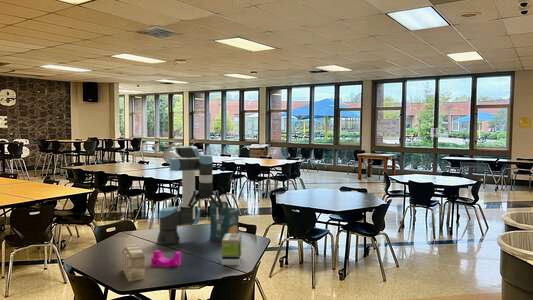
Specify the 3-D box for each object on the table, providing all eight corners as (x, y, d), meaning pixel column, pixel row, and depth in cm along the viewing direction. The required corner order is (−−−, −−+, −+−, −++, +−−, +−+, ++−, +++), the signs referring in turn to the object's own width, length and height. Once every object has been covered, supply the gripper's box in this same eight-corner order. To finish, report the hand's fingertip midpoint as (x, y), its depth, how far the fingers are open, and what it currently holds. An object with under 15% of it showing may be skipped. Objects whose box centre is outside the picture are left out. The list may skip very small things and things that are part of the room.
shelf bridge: (122, 270, 217) (122, 245, 216) (138, 267, 221) (137, 243, 220) (128, 281, 200) (128, 255, 200) (144, 279, 204) (144, 252, 204)
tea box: (225, 257, 241) (225, 232, 240) (241, 257, 241) (241, 232, 240) (221, 265, 226) (221, 239, 225) (239, 265, 226) (239, 239, 225)
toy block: (151, 266, 224) (151, 253, 223) (156, 262, 230) (156, 249, 230) (176, 268, 221) (176, 255, 221) (181, 264, 227) (181, 251, 227)
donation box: (209, 239, 278) (209, 199, 277) (225, 234, 291) (225, 196, 290) (227, 243, 269) (227, 202, 268) (242, 238, 282) (242, 198, 281)
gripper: (182, 182, 226) (182, 220, 227) (226, 183, 226) (226, 220, 227) (185, 181, 234) (185, 217, 235) (228, 181, 233) (228, 217, 234)
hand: (205, 218), depth 231 cm, fingers open, 13 cm apart
